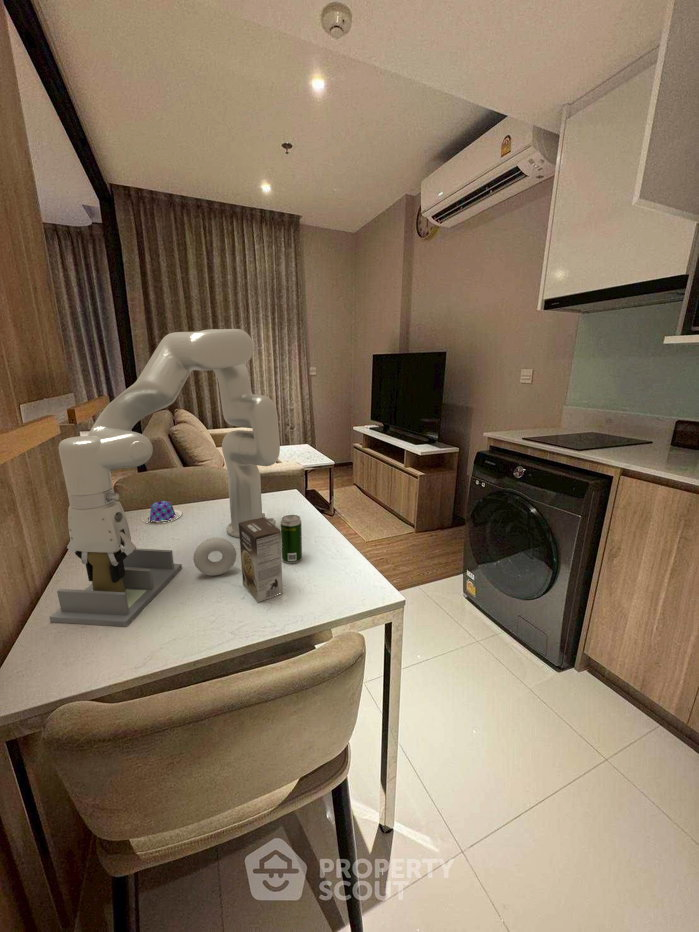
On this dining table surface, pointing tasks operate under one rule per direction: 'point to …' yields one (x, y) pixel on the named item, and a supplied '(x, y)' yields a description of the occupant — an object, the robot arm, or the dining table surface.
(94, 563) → the brown gourd-shaped form
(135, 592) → the rack
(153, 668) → the dining table surface
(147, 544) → the dining table surface
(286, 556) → the beer can
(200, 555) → the donut
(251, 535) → the coffee box
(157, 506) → the purple patterned dome
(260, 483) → the robot arm
